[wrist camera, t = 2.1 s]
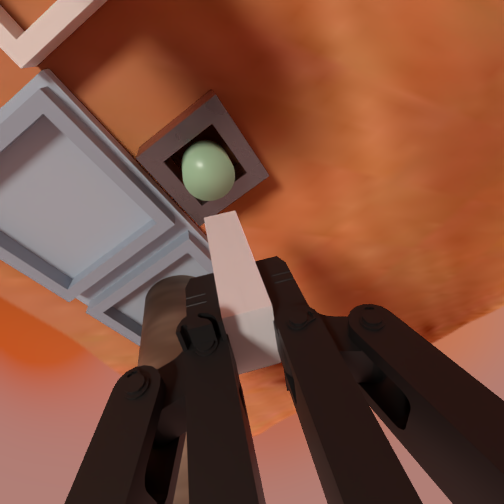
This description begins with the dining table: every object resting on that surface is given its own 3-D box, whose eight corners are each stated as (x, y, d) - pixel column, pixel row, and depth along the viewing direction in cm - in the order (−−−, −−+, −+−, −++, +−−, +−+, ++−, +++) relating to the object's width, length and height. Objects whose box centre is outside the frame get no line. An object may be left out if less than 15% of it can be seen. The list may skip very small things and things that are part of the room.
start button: (210, 129, 22) (214, 138, 20) (238, 168, 24) (244, 181, 22) (171, 159, 23) (171, 172, 21) (201, 195, 25) (204, 210, 23)
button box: (211, 89, 23) (215, 94, 20) (260, 164, 27) (269, 175, 24) (139, 146, 24) (135, 158, 22) (197, 210, 28) (199, 226, 25)
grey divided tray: (48, 68, 20) (33, 71, 18) (262, 295, 35) (268, 312, 33) (-79, 185, 22) (-107, 200, 20) (174, 353, 37) (174, 372, 35)
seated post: (184, 262, 29) (199, 534, 13) (228, 302, 33) (281, 550, 17) (129, 301, 30) (78, 597, 14) (177, 336, 34) (180, 598, 18)
